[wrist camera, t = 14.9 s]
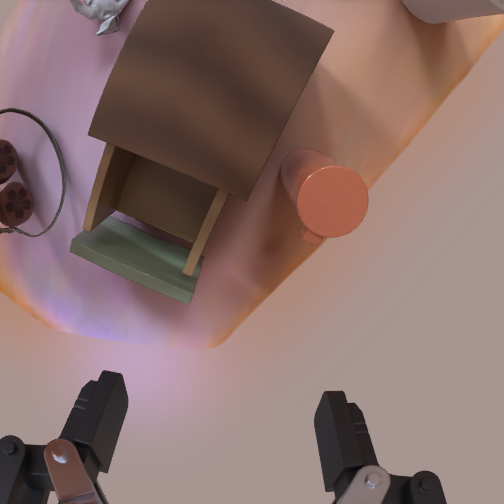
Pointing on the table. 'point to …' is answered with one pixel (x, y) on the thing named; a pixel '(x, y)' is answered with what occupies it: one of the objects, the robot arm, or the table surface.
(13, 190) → the binoculars
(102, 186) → the drawer
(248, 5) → the cabinet
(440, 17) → the coffee cup
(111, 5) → the soldier figure
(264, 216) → the table surface
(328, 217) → the orange cylinder
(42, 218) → the table surface
